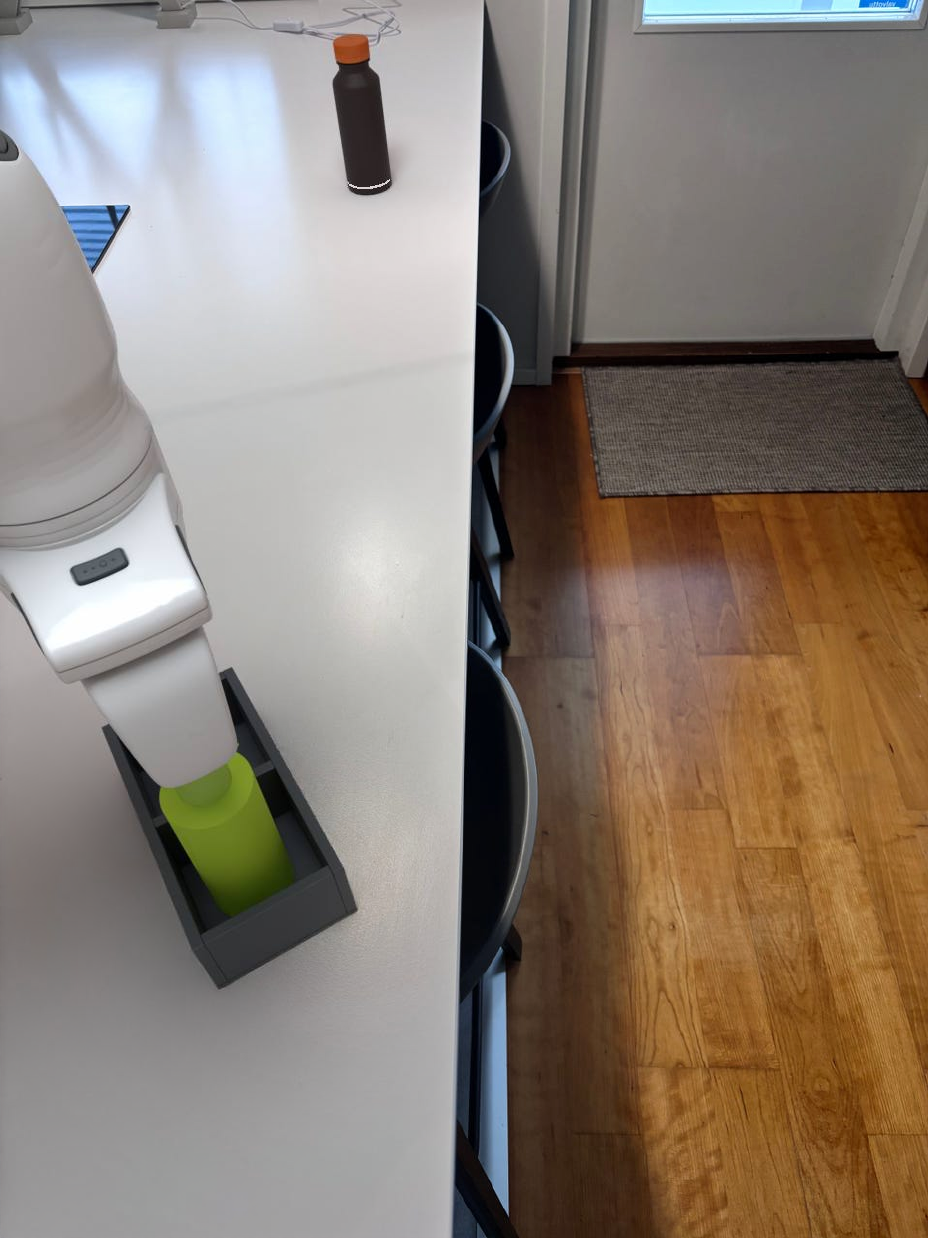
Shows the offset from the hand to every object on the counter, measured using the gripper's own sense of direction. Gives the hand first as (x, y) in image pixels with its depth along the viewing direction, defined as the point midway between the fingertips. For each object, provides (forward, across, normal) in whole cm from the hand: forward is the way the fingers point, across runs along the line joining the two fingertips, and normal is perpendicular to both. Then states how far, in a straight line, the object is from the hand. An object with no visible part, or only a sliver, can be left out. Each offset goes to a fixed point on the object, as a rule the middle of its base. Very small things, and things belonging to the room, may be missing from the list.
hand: (167, 696), depth 52 cm
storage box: (+23, -5, 0) cm, 24 cm away
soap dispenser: (+23, 0, 0) cm, 23 cm away
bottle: (+24, -99, +59) cm, 117 cm away
